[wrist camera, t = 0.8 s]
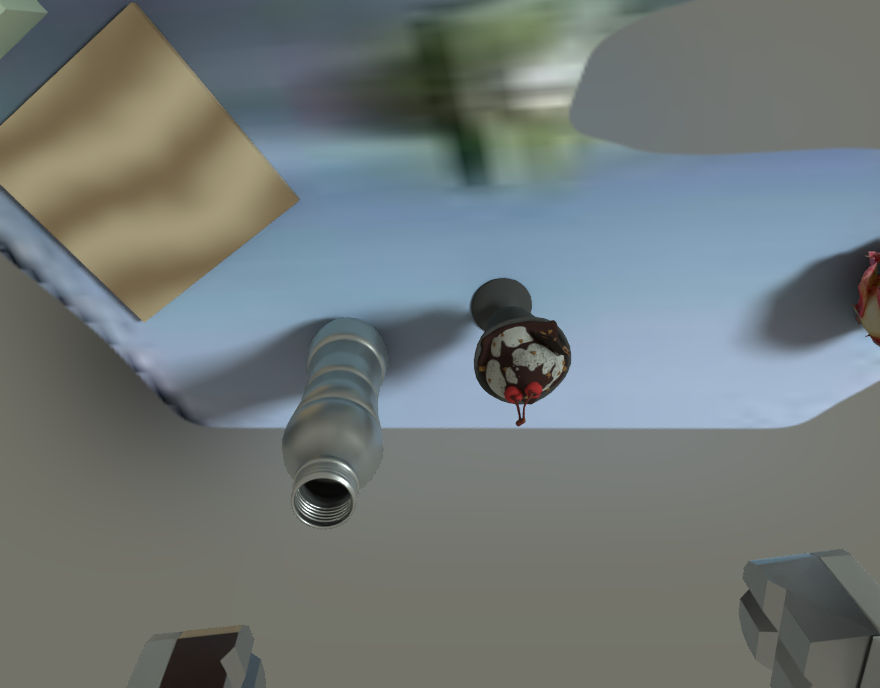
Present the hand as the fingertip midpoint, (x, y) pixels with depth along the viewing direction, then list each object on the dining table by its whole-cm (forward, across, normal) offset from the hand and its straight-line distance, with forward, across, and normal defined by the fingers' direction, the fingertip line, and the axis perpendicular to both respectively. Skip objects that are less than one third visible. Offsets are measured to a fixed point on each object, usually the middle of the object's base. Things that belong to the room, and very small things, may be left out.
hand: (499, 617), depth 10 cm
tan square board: (+41, +20, -2) cm, 46 cm away
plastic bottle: (+41, +8, +14) cm, 44 cm away
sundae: (+41, -5, +12) cm, 43 cm away
